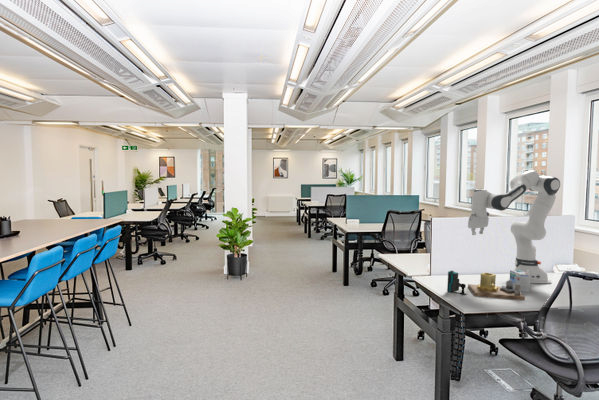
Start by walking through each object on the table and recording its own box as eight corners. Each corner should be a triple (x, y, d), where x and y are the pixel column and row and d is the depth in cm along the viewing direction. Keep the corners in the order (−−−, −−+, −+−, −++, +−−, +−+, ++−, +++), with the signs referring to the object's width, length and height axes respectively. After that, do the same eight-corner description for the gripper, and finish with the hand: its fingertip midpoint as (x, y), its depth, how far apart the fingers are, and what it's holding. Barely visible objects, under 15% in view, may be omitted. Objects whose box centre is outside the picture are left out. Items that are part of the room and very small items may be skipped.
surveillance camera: (464, 275, 217) (447, 271, 225) (463, 295, 218) (446, 291, 225) (468, 273, 221) (452, 270, 229) (467, 294, 222) (451, 290, 229)
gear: (515, 289, 227) (516, 278, 227) (521, 293, 218) (522, 282, 218) (497, 287, 229) (498, 277, 229) (502, 292, 220) (503, 281, 220)
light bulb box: (508, 286, 240) (509, 269, 240) (518, 286, 241) (519, 269, 240) (519, 291, 230) (520, 273, 229) (529, 291, 230) (531, 274, 229)
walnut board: (513, 290, 230) (514, 277, 230) (524, 300, 213) (525, 286, 212) (467, 287, 236) (468, 274, 235) (475, 296, 218) (475, 282, 218)
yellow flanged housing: (482, 285, 234) (483, 271, 233) (500, 289, 225) (501, 274, 224) (474, 288, 227) (474, 273, 226) (492, 292, 218) (493, 277, 218)
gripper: (475, 214, 239) (474, 236, 240) (490, 213, 252) (489, 234, 252) (465, 213, 244) (464, 235, 245) (481, 212, 257) (480, 232, 257)
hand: (477, 234), depth 249 cm, fingers open, 8 cm apart
